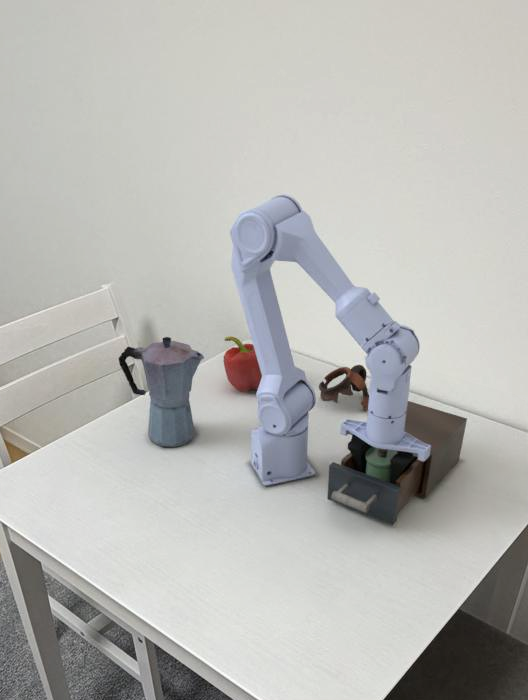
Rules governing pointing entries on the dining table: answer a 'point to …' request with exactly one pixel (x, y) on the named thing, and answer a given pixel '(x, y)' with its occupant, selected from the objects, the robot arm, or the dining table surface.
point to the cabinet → (435, 441)
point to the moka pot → (166, 388)
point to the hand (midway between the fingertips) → (379, 482)
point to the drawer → (373, 489)
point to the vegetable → (242, 366)
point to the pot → (379, 463)
